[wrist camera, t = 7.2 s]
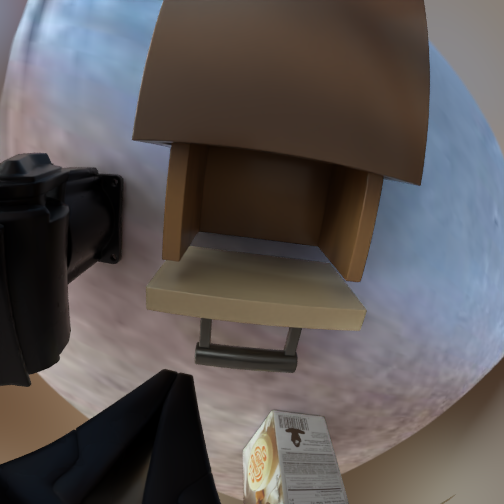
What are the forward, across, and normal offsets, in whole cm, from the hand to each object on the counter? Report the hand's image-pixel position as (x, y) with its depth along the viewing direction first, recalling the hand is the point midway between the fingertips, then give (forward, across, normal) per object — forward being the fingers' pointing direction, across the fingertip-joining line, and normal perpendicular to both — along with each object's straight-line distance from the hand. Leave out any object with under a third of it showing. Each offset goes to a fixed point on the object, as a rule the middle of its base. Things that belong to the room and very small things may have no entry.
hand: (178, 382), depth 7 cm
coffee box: (+14, -8, +20) cm, 26 cm away
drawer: (+12, -2, -3) cm, 13 cm away
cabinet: (+13, -1, -13) cm, 19 cm away
